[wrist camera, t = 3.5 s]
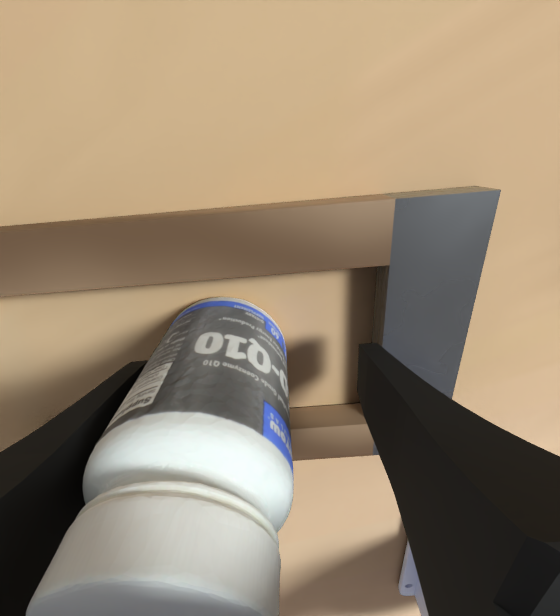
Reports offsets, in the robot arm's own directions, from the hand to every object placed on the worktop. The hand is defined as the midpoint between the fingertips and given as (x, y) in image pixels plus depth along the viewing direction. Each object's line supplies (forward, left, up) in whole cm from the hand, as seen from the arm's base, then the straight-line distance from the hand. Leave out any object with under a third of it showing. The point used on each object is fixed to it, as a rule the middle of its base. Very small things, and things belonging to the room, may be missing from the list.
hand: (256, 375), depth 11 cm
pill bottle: (0, +1, -2) cm, 2 cm away
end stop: (0, -6, -2) cm, 6 cm away
